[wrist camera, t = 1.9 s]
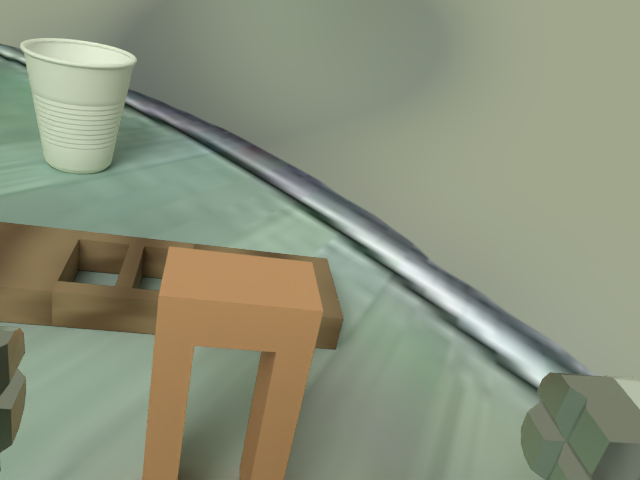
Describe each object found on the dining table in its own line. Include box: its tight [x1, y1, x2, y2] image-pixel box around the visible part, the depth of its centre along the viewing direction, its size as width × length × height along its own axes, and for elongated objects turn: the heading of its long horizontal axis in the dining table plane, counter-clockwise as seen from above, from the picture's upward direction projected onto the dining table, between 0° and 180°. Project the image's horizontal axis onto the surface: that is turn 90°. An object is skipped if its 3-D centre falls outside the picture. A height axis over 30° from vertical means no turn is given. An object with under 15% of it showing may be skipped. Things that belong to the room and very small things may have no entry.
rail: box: [0, 222, 343, 349], centre depth 40 cm, size 28×8×2 cm, turn 97°
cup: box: [20, 38, 137, 174], centre depth 57 cm, size 10×10×11 cm
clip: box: [142, 246, 323, 480], centre depth 25 cm, size 6×4×12 cm, turn 97°
